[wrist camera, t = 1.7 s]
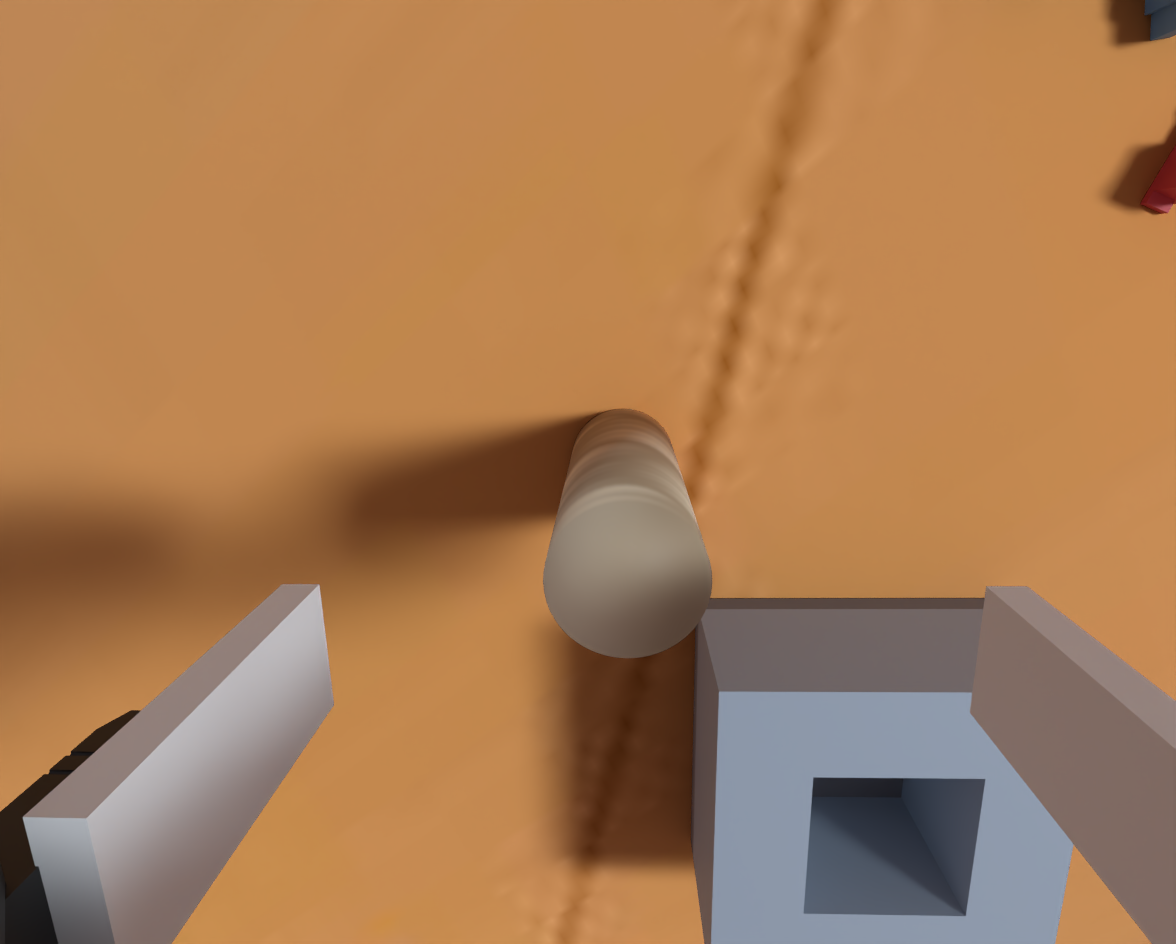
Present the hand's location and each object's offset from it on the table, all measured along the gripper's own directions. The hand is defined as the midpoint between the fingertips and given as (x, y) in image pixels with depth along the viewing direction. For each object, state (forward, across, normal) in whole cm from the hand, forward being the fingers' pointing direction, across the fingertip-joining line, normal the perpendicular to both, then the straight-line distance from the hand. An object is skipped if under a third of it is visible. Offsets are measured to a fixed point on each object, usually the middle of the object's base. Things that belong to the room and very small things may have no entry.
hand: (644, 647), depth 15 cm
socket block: (+15, +8, -12) cm, 21 cm away
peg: (+15, 0, 0) cm, 15 cm away
